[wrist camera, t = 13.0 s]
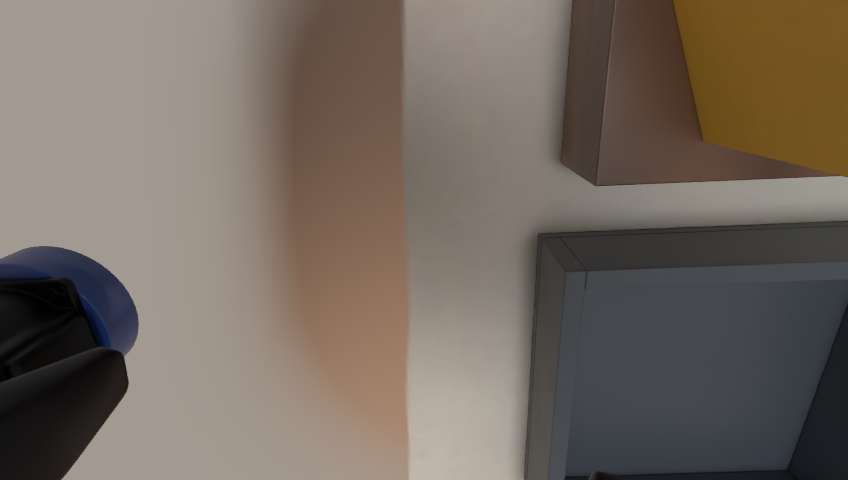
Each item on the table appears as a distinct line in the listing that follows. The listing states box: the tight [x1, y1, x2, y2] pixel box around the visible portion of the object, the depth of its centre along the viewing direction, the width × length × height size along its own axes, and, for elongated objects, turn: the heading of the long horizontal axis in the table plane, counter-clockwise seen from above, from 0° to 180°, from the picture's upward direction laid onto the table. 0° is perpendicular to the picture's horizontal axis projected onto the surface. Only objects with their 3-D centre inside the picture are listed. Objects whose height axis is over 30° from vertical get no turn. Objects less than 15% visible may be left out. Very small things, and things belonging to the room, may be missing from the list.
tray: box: [524, 221, 848, 480], centre depth 21 cm, size 16×16×4 cm
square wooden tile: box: [561, 0, 840, 186], centre depth 15 cm, size 10×10×4 cm
